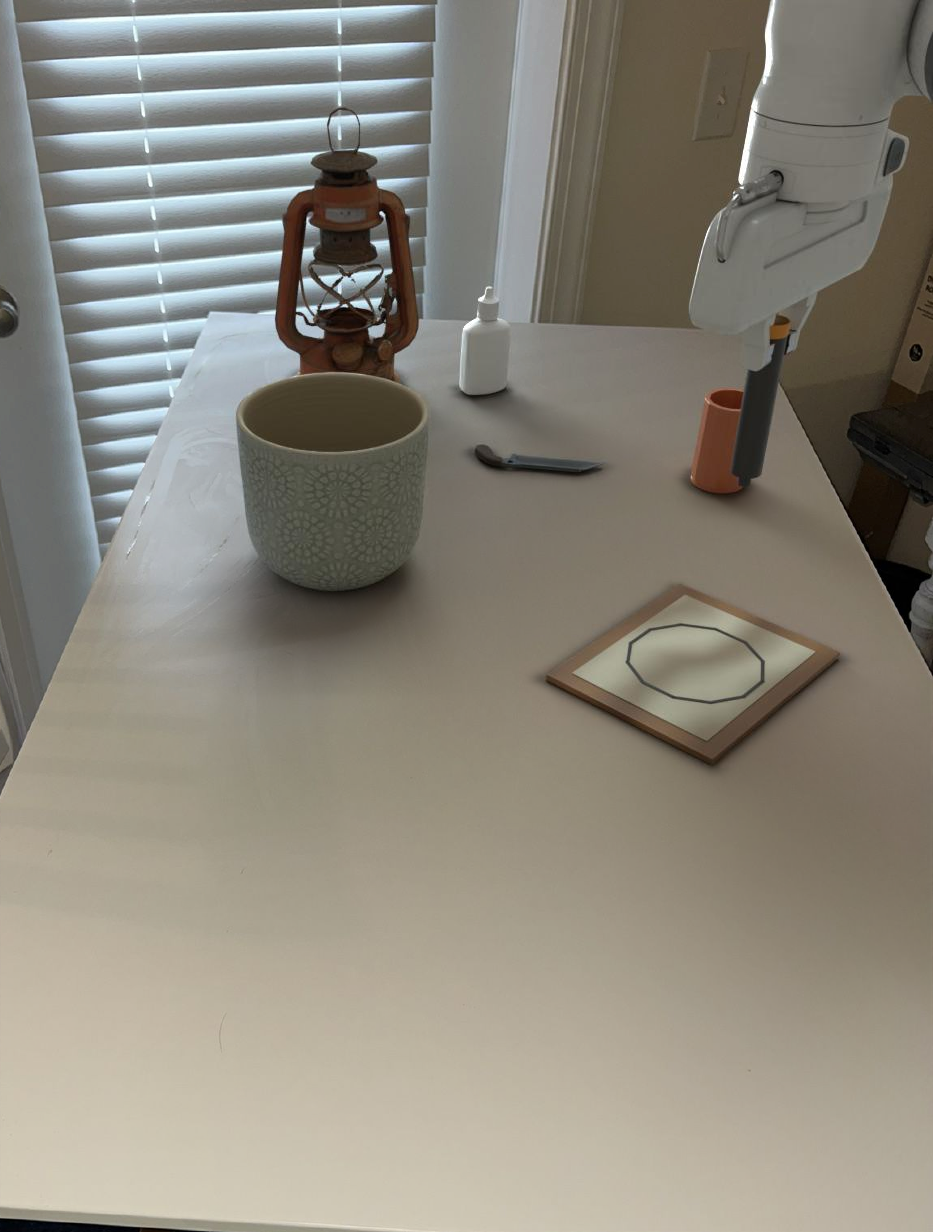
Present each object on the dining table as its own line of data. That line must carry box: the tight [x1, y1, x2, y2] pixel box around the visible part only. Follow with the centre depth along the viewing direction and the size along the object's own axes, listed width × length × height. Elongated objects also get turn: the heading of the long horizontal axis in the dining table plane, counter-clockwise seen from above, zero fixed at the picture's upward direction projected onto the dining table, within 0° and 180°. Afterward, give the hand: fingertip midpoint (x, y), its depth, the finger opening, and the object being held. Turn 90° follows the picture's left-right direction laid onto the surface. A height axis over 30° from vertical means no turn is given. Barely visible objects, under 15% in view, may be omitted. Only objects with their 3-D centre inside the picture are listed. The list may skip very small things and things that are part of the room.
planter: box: [235, 373, 430, 592], centre depth 114 cm, size 17×17×15 cm
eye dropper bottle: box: [458, 285, 511, 396], centre depth 145 cm, size 4×6×12 cm
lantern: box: [274, 106, 420, 384], centre depth 141 cm, size 17×13×30 cm
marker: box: [730, 314, 791, 488], centre depth 95 cm, size 2×2×13 cm
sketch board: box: [545, 583, 841, 765], centre depth 105 cm, size 16×20×1 cm
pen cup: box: [689, 387, 744, 494], centre depth 128 cm, size 6×6×9 cm
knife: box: [474, 444, 605, 473], centre depth 134 cm, size 14×4×1 cm, turn 78°
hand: (767, 359), depth 93 cm, fingers closed on marker, 2 cm apart
